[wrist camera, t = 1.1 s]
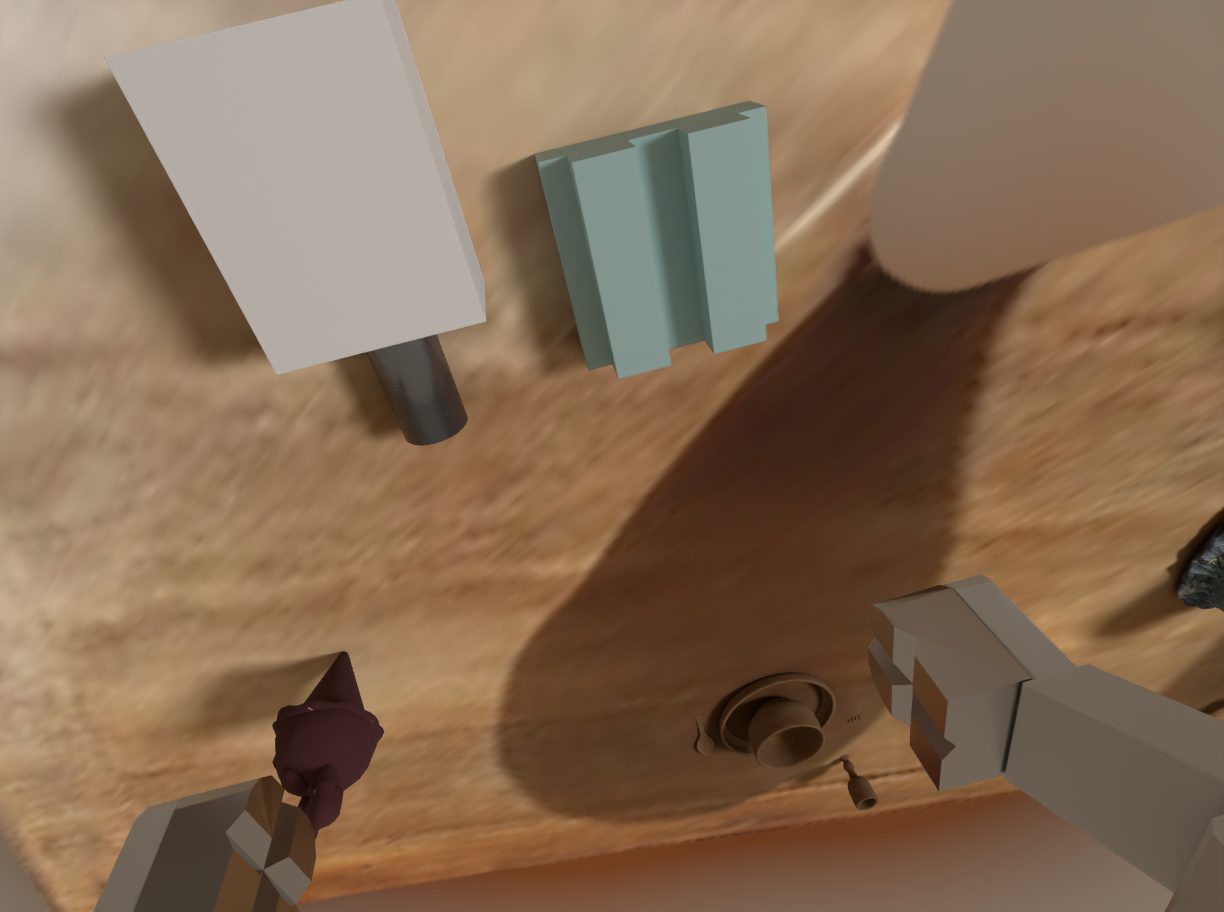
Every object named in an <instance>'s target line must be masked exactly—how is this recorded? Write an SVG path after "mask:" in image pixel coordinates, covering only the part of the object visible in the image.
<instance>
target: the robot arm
mask: <svg viewBox="0 0 1224 912" xmlns="http://www.w3.org/2000/svg"><path fill="white" fill-rule="evenodd" d="M868 626H869V627H870V629H871V630H872V632H873V633H874V635H875V636H876V638H875V639H874V640H873V642H872V643H871V644H870V646H869V647H868V656H869V667H870V670H871V674H872V677H873V681H874V684H875V686H876V688H877V690H878V693H879V695H880V697H881V699H882V701H883V702H884V704H885V706H886V707H887V709H888V711H889V712H890V714H891V716H893V717H895V718H896V719H898V720H900V721H902V722H904V723H905V724H907V725H909V726H910V747H911V748H912V750H913V751H914V753H915V754H916V756H917V758H918V759H919V761H920V762H921V764H922V766H923V767H924V769H925V770H926V772H927V774H928V775H929V777H930V778H931V780H932V782H933V783H934V785H935V786H936V788H937V790H938V791H939V792H940V791H944V790H948V789H951V788H955V787H959V786H963V785H967V784H971V783H975V782H978V781H982V780H986V779H990V778H994V777H998V776H1002V775H1005V777H1004V779H1006V780H1007V781H1008V782H1010V783H1011V784H1013V785H1014V786H1016V787H1017V788H1019V789H1020V790H1022V791H1023V792H1025V793H1026V794H1028V795H1029V796H1031V797H1032V798H1034V799H1035V800H1037V801H1038V802H1040V803H1041V804H1043V805H1044V806H1046V807H1047V808H1049V809H1050V810H1052V811H1053V812H1055V813H1056V814H1058V815H1059V816H1061V817H1062V818H1064V819H1065V820H1066V821H1068V822H1069V823H1071V824H1072V825H1074V826H1075V827H1077V828H1078V829H1080V830H1081V831H1083V832H1084V833H1086V834H1087V835H1089V836H1090V837H1092V838H1093V839H1095V840H1096V841H1098V842H1099V843H1101V844H1102V845H1104V846H1105V847H1107V848H1108V849H1110V850H1111V851H1112V852H1114V853H1115V854H1117V855H1118V856H1120V857H1121V858H1123V859H1124V860H1126V861H1127V862H1129V863H1130V864H1132V865H1133V866H1135V867H1136V868H1138V869H1139V870H1141V871H1142V872H1144V873H1145V874H1147V875H1148V876H1150V877H1151V878H1153V879H1154V880H1155V881H1157V882H1159V883H1160V884H1161V885H1163V886H1164V887H1166V888H1167V889H1169V890H1170V891H1172V892H1173V893H1174V894H1173V896H1172V898H1171V901H1170V903H1169V904H1168V906H1167V908H1166V910H1165V912H1224V721H1222V720H1219V719H1217V718H1214V717H1212V716H1210V715H1207V714H1205V713H1203V712H1200V711H1198V710H1196V709H1193V708H1191V707H1188V706H1186V705H1184V704H1181V703H1179V702H1177V701H1174V700H1172V699H1170V698H1167V697H1165V696H1162V695H1160V694H1158V693H1155V692H1153V691H1151V690H1148V689H1146V688H1144V687H1141V686H1139V685H1136V684H1134V683H1132V682H1129V681H1127V680H1125V679H1122V678H1120V677H1118V676H1115V675H1113V674H1110V673H1108V672H1106V671H1103V670H1101V669H1099V668H1096V667H1094V666H1091V665H1089V664H1087V665H1083V666H1079V667H1076V666H1075V665H1074V664H1073V663H1072V662H1071V661H1070V660H1069V659H1068V658H1067V657H1066V656H1065V655H1064V654H1063V653H1062V652H1061V651H1060V650H1059V649H1058V647H1057V646H1056V645H1055V644H1054V643H1053V642H1052V641H1051V640H1050V639H1049V638H1048V637H1047V636H1046V635H1045V634H1044V633H1043V632H1042V631H1041V630H1040V629H1039V628H1038V627H1037V626H1036V625H1035V624H1034V623H1033V622H1032V621H1031V620H1030V619H1029V618H1028V617H1027V616H1026V615H1025V614H1024V613H1023V612H1022V611H1021V610H1020V609H1019V608H1018V607H1017V606H1016V605H1015V604H1014V603H1013V602H1012V601H1011V600H1010V599H1009V598H1008V597H1007V595H1006V594H1005V593H1004V592H1003V591H1002V590H1001V589H1000V588H999V587H998V586H997V585H996V584H995V583H994V582H993V581H992V580H991V579H990V578H988V577H985V576H983V575H981V574H980V575H976V576H973V577H969V578H966V579H962V580H959V581H955V582H951V583H948V584H945V585H943V586H941V585H938V586H935V587H931V588H928V589H924V590H921V591H918V592H914V593H911V594H907V595H904V596H901V597H897V598H894V599H891V600H887V601H884V602H880V603H877V604H874V605H872V606H871V608H870V610H869V612H868ZM284 790H285V789H284V788H283V787H282V786H281V785H280V784H279V783H278V782H277V781H276V780H275V779H274V777H273V776H272V775H271V776H267V777H262V778H258V779H254V780H250V781H246V782H242V783H238V784H234V785H230V786H226V787H223V788H219V789H215V790H211V791H207V792H203V793H199V794H195V795H191V796H187V797H183V798H180V799H176V800H172V801H169V802H165V803H161V804H157V805H154V806H150V807H147V808H146V809H145V810H144V812H143V813H142V814H141V815H140V816H139V817H138V818H137V819H136V820H135V822H134V824H133V826H132V828H131V830H130V832H129V834H128V837H127V839H126V841H125V843H124V845H123V848H122V850H121V852H120V854H119V856H118V859H117V861H116V863H115V865H114V867H113V870H112V872H111V874H110V876H109V878H108V881H107V883H106V885H105V887H104V889H103V892H102V894H101V896H100V898H99V900H98V903H97V905H96V907H95V909H94V911H93V912H300V911H299V909H298V908H297V905H296V903H297V901H298V900H299V898H300V897H301V896H302V894H303V893H304V891H305V890H306V889H307V887H308V886H309V884H310V883H311V881H312V876H313V870H314V865H315V859H316V852H315V834H314V831H313V828H312V826H311V823H310V820H309V818H308V817H307V816H306V814H305V813H304V812H303V811H302V809H301V808H299V807H296V806H293V805H290V804H287V803H284V802H281V801H282V797H283V794H284Z"/></svg>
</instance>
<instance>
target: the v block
mask: <svg viewBox="0 0 1224 912" xmlns="http://www.w3.org/2000/svg"><path fill="white" fill-rule="evenodd" d="M535 158H536V163H537V167H538V171H539V175H540V179H541V183H542V187H543V191H544V195H545V199H546V204H547V208H548V212H549V216H550V220H551V224H552V228H553V232H554V236H555V241H556V245H557V249H558V253H559V257H560V261H561V265H562V269H563V273H564V277H565V282H566V286H567V290H568V294H569V298H570V302H571V306H572V310H573V314H574V319H575V323H576V327H577V331H578V335H579V339H580V343H581V347H582V351H583V355H584V358H585V361H586V364H587V367H588V370H592V369H596V368H600V367H604V366H608V365H612V364H613V367H614V369H615V372H616V374H617V377H618V379H620V378H624V377H628V376H632V375H636V374H640V373H643V372H647V371H651V370H655V369H659V368H663V367H666V366H670V365H671V360H670V354H669V350H670V349H674V348H677V347H681V346H685V345H689V344H693V343H697V342H701V341H704V340H705V342H706V343H707V345H708V346H709V347H710V349H711V350H712V352H713V353H714V354H717V353H720V352H724V351H728V350H732V349H736V348H740V347H744V346H747V345H751V344H755V343H759V342H763V341H767V337H766V324H770V323H774V322H778V305H777V287H776V269H775V252H774V234H773V216H772V199H771V181H770V163H769V146H768V128H767V110H766V106H764V105H761V104H758V103H755V102H751V101H748V102H744V103H740V104H735V105H731V106H727V107H723V108H719V109H715V110H711V111H707V112H703V113H699V114H695V115H691V116H687V117H683V118H679V119H675V120H671V121H667V122H663V123H659V124H655V125H650V126H646V127H642V128H638V129H634V130H630V131H626V132H622V133H618V134H614V135H610V136H606V137H602V138H598V139H594V140H590V141H586V142H582V143H578V144H574V145H570V146H565V147H561V148H557V149H553V150H549V151H545V152H541V153H537V154H535Z"/></svg>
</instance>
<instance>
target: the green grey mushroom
mask: <svg viewBox="0 0 1224 912" xmlns="http://www.w3.org/2000/svg"><path fill="white" fill-rule="evenodd" d="M1177 593H1178V598H1179V599H1184V601H1185V605H1186V606H1197V607H1199V608H1201V609H1211V608H1214V607H1216V608H1218V609H1220V610H1222V611H1223V612H1224V521H1223V522H1222V523H1221V524H1220V525H1219V526H1218V528H1217V529H1216V530H1215V531H1214V532H1213V534H1212V535H1211V536H1210V537H1209V538H1208V540H1207V541H1206V542H1205V543H1204V544H1203V546H1202V547H1201V548H1200V549H1199V551H1198V552H1197V553H1196V554H1195V555H1194V557H1193V558H1192V559H1191V560H1190V561H1189V563H1188V564H1187V566H1186V568H1185V571H1184V573H1183V576H1182V578H1181V581H1180V583H1179V586H1178V588H1177Z"/></svg>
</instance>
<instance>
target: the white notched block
mask: <svg viewBox="0 0 1224 912" xmlns="http://www.w3.org/2000/svg"><path fill="white" fill-rule="evenodd" d="M104 58H105V60H106V62H107V64H108V66H109V68H110V69H111V71H112V73H113V75H114V77H115V79H116V80H117V82H118V84H119V86H120V88H121V90H122V91H123V93H124V95H125V97H126V99H127V101H128V102H129V104H130V106H131V108H132V110H133V112H134V114H135V115H136V117H137V119H138V121H139V123H140V125H141V126H142V128H143V130H144V132H145V134H146V136H147V137H148V139H149V141H150V143H151V145H152V147H153V148H154V150H155V152H156V154H157V156H158V158H159V159H160V161H161V163H162V165H163V167H164V169H165V170H166V172H167V174H168V176H169V178H170V180H171V181H172V183H173V185H174V187H175V189H176V191H177V192H178V194H179V196H180V198H181V200H182V202H183V203H184V205H185V207H186V209H187V211H188V213H189V214H190V216H191V218H192V220H193V222H194V224H195V225H196V227H197V229H198V231H199V233H200V235H201V237H202V238H203V240H204V242H205V244H206V246H207V248H208V249H209V251H210V253H211V255H212V257H213V259H214V260H215V262H216V264H217V266H218V268H219V270H220V271H221V273H222V275H223V277H224V279H225V281H226V282H227V284H228V286H229V288H230V290H231V292H232V293H233V295H234V297H235V299H236V301H237V303H238V304H239V306H240V308H241V310H242V312H243V314H244V315H245V317H246V319H247V321H248V323H249V325H250V326H251V328H252V330H253V332H254V334H255V336H256V337H257V339H258V341H259V343H260V345H261V347H262V348H263V350H264V352H265V354H266V356H267V358H268V359H269V361H270V363H271V365H272V367H273V369H274V371H275V372H276V374H277V375H278V374H282V373H286V372H290V371H294V370H298V369H302V368H306V367H310V366H314V365H317V364H321V363H325V362H329V361H333V360H337V359H341V358H345V357H349V356H353V355H357V354H361V353H365V352H368V351H372V350H376V349H380V348H384V347H388V346H392V345H396V344H400V343H404V342H408V341H412V340H416V339H419V338H423V337H427V336H431V335H435V334H439V333H443V332H447V331H451V330H455V329H459V328H463V327H467V326H470V325H474V324H478V323H482V322H486V307H485V283H484V279H483V276H482V272H481V269H480V266H479V263H478V260H477V257H476V253H475V250H474V247H473V244H472V241H471V238H470V234H469V231H468V228H467V225H466V222H465V219H464V215H463V212H462V209H461V206H460V203H459V200H458V196H457V193H456V190H455V187H454V184H453V180H452V177H451V174H450V171H449V168H448V165H447V161H446V158H445V155H444V152H443V149H442V146H441V142H440V139H439V136H438V133H437V130H436V127H435V123H434V120H433V117H432V114H431V111H430V108H429V104H428V101H427V98H426V95H425V92H424V89H423V85H422V82H421V79H420V76H419V73H418V70H417V66H416V63H415V60H414V57H413V54H412V51H411V47H410V44H409V41H408V38H407V35H406V32H405V28H404V25H403V22H402V19H401V16H400V13H399V9H398V6H397V3H396V0H345V1H341V2H336V3H332V4H328V5H324V6H319V7H315V8H311V9H307V10H303V11H298V12H294V13H290V14H286V15H282V16H277V17H273V18H269V19H265V20H260V21H256V22H252V23H248V24H244V25H239V26H235V27H231V28H227V29H222V30H218V31H214V32H210V33H206V34H201V35H197V36H193V37H189V38H184V39H180V40H176V41H172V42H168V43H163V44H159V45H155V46H151V47H146V48H142V49H138V50H134V51H130V52H125V53H121V54H117V55H113V56H109V57H104Z"/></svg>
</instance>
